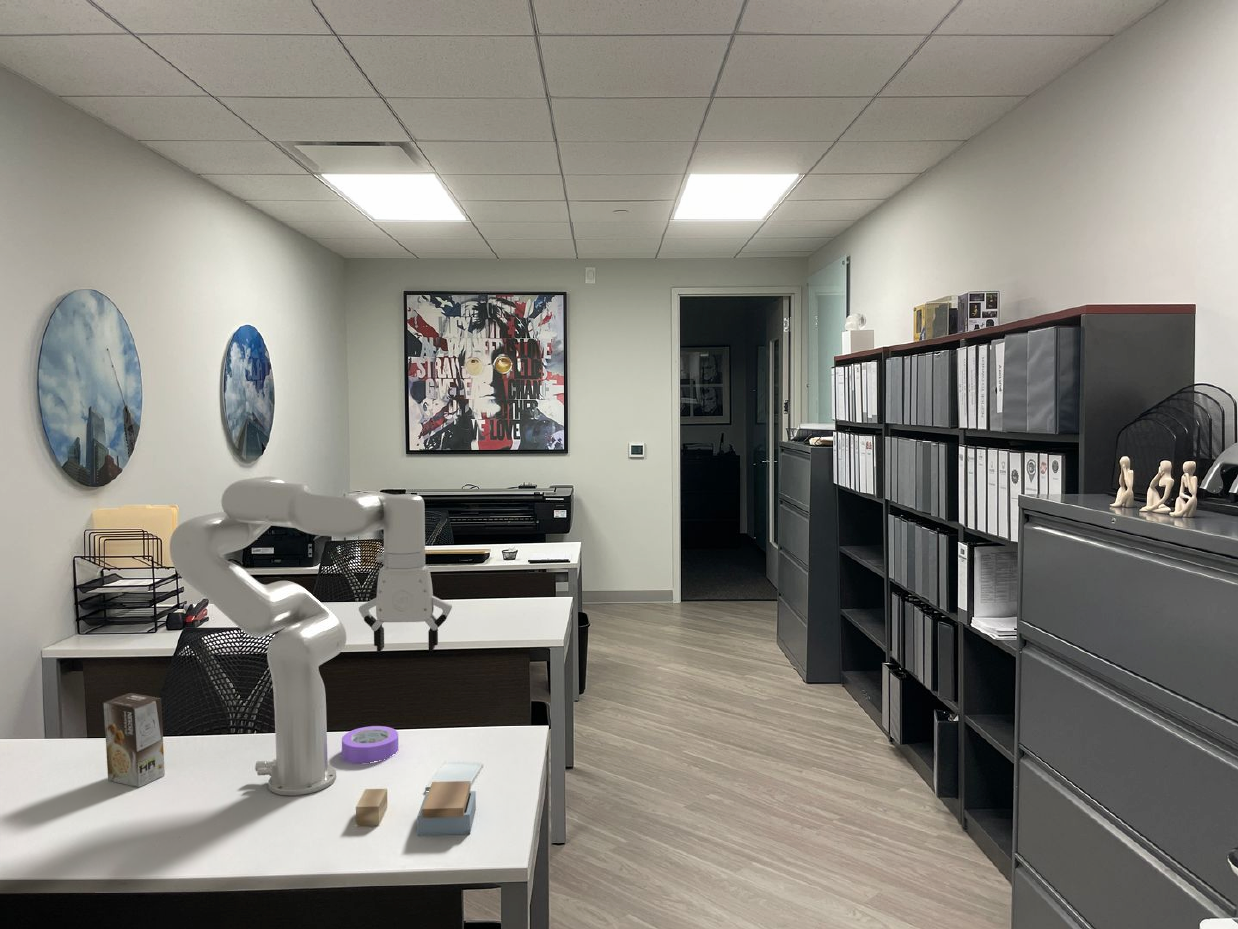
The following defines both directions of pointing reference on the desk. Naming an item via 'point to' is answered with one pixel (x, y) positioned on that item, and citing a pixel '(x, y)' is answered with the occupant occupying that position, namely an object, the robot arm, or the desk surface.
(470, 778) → the hard drive
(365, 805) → the wooden block
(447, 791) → the lid
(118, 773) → the coffee box
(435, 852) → the desk surface
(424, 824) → the light blue open tray
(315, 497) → the robot arm
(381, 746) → the masking tape
